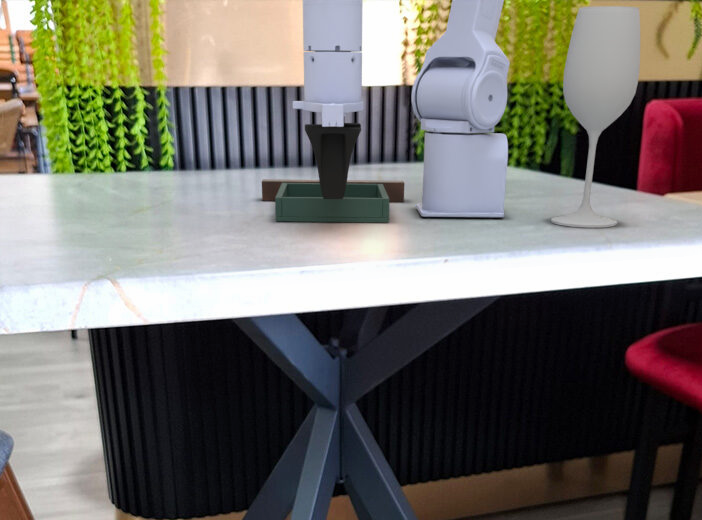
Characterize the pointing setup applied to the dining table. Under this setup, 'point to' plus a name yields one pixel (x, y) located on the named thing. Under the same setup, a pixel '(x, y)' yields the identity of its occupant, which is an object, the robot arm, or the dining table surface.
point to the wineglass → (600, 84)
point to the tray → (331, 204)
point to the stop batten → (392, 187)
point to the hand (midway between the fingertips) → (333, 198)
